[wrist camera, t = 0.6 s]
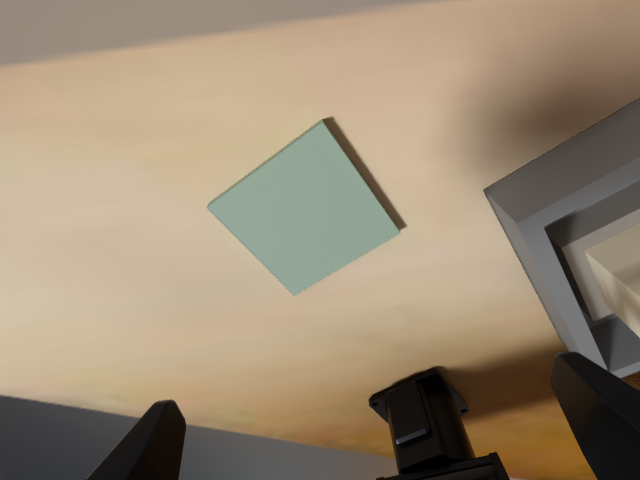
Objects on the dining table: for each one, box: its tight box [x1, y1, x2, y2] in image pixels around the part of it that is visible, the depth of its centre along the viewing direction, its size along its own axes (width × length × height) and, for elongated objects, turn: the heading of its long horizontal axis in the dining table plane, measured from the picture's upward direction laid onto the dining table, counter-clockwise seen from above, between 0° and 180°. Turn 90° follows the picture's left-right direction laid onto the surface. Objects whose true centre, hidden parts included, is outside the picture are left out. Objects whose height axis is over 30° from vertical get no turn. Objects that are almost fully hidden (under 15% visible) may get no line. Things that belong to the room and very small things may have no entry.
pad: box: [207, 120, 400, 296], centre depth 21 cm, size 8×8×1 cm
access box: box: [483, 98, 640, 378], centre depth 21 cm, size 16×11×4 cm
